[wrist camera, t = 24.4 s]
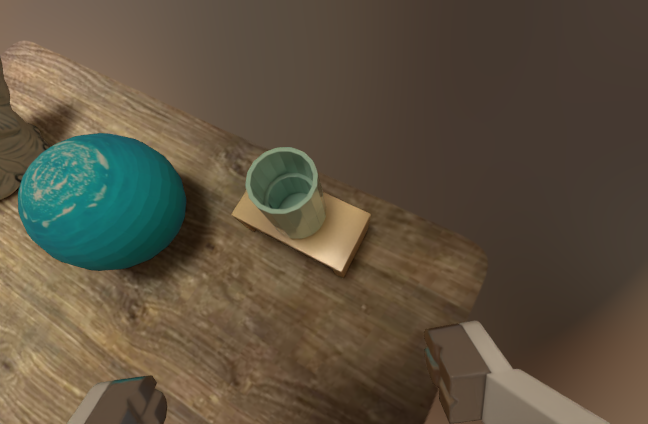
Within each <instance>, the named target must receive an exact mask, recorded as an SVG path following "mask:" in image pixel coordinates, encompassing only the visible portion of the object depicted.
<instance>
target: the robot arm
mask: <svg viewBox="0 0 648 424" xmlns="http://www.w3.org/2000/svg"><path fill="white" fill-rule="evenodd" d="M424 340H425V342H426V344H427V347H426V348H425V349H424V352H425V361H426V366H427V369H428V372H429V375H430V378H431V380H432V383H433V384H434V385H435V386H436V387H438V388H439V399H440V402H441V405H442V407H443V409H444V412H445V414H446V416H447V418H448V421H449V423H450V424H452V423H461V422H467V421H476V420H482V422H483V423H484V424H610V423H609V422H607V421H605V420H604V419H602V418H600V417H599V416H597V415H595V414H594V413H592V412H590V411H589V410H587V409H585V408H584V407H582V406H580V405H578V404H577V403H575V402H574V401H572V400H570V399H569V398H567V397H565V396H563V395H562V394H560V393H559V392H557V391H555V390H554V389H552V388H550V387H548V386H547V385H545V384H544V383H542V382H540V381H539V380H537V379H535V378H534V377H532V376H530V375H529V374H527V373H525V372H524V371H522V370H520V369H514V370H513V369H512V367H511V366H510V364H509V363H508V361H507V360H506V359H505V357H504V356H503V354H502V353H501V352H500V350H499V349H498V347H497V346H496V345H495V343H494V342H493V340H492V339H491V338H490V336H489V335H488V333H487V332H486V331H485V329H484V328H483V326H482V325H481V324H480V323H479V322H478V321H471V322H464V323H459V324H458V323H457V324H451V325H446V326H440V327H434V328H429V329H425V331H424ZM156 384H157V382H156V381H155V379H154V378H153V376H142V377H135V378H128V379H121V380H114V381H108V382H101V383H97V384H96V385H94V386H93V387H92V388H91V389H90V390H89V392H88V393H87V395H86V396H85V398H84V399H83V401H82V402H81V404H80V405H79V407H78V408H77V410H76V411H75V412H74V414H73V415H72V417H71V418H70V420H69V421H68V423H67V424H164V421H165V418H166V413H167V402H166V398H165V396H164V394H163V393H162V392H160V391H159V390H157V389H155V386H156Z"/></svg>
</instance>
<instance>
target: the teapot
mask: <svg viewBox="0 0 648 424" xmlns="http://www.w3.org/2000/svg"><path fill="white" fill-rule="evenodd" d="M48 148H49V145H48V143H47V142H46V141H45V140H44V139H43V138H42V136H41V133H40V131H39V130H38V128H37V127H36V126H34V125H32V124H29V123H27V122H25V121H24V120H23V119H22V118H21V117H20V116H19V115H18V114H17V113H16V112H14V111H13V110H12V108H11V106H10V93H9V89H8V86H7V84H6V82H5V80H4V75H3V67H2V62H1V58H0V199H3V198H5V197H7V196H9V195H11V194H12V193H13V192H14V191H16V190H17V188H18V187H19V186H20V184H21V181H22V177H23V176H24V174H25V172H26V171H27V169H28V167H29V166H30V164H31V163H32V162H33V161H34V160H35V159H36V158H37V157H38V156H39V155H40V154H41V153H42V152H44V151H45V150H47V149H48Z"/></svg>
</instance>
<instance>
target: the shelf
mask: <svg viewBox="0 0 648 424" xmlns="http://www.w3.org/2000/svg"><path fill="white" fill-rule="evenodd" d="M323 196H324V200H325V204H326V218H325V220H324V222H323V224H322V226H321V228H320V229H319V230H317V231H316V232H315V233H314V234H313V235H311V236H308V237H306V238H303V239H292V238H289V237H287V236H284V235H282V234H281V233H280V232H279V231H278V230H277V229H276V228H275V227H274V226H273V224H272V223H271V222H270V221H269V220H268V219H267V218H266V217H265V216H264V214H263V213H262V212H261V211H260V210H259V209H258V208H257V207H256V205H255V204H254V203H253V202H252V201H251V200H250V199H249V196H248V193H247V191H246V192H245V194H244V195H243V197H242V198H241V200H240V202H239V203H238V205H237V206H236V208H235V209H234V211H233V213H232V214H231V215H232V216H233V217H235V218H236V219H237V220H238V221H239V222H241V223H242V224H243V225H244V226H246V227H247V228H248V229H250V230H252V231H254V232H255V230H256V229H257V230H259V231H261V232H263V233H265V234H267V235H269V236H271V237H273V238H275V239H276V240H278V241H280V242H282V243H284V244H286V245H288V246H290V247H292V248H294V249H296V250H298V251H299V252H301V253H303V254H305V255H307V256H309V257H311V258H313V259H315V260H317V261H319V262H321V263H322V264H324V265H326V266H328V267H330V268H332V269H333V271H334V273H335V274H336V275H338V276H340V277H342V278H344V276H345V274H346V272H347V270H348V268H349V266H350V264H351V262H352V260H353V258H354V256H355V254H356V252H357V250H358V248H359V246H360V244H361V242H362V240H363V238H364V236H365V234H366V232H367V230H368V227H369V221H370V216H371V214H370V213H367V212H365V211H363V210H361V209H359V208H356V207H354V206H352V205H350V204H348V203H346V202H343V201H341V200H339V199H337V198H335V197H333V196H330V195H328V194H326V193H324V192H323Z"/></svg>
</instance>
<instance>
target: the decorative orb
mask: <svg viewBox="0 0 648 424" xmlns="http://www.w3.org/2000/svg"><path fill="white" fill-rule="evenodd" d="M185 210H186V196H185V192H184V188H183V184H182V180H181V178H180V176H179V175H178V173H177V172H176V170H175V169H174V168H173V166H172V165H171V163H170V162H169V161H168V160H167V159H166V158H165V157H164V156H163V155H162V154H160V153H159V152H157V151H156V150H154V149H152V148H151V147H149V146H148V145H146V144H144V143H143V142H140V141H138V140H136V139H132V138H128V137H123V136H118V135H113V134H105V133H98V134H89V135H81V136H75V137H72V138H69V139H67V140H64V141H61V142H59V143H57V144H55V145H53V146H51V147H50V148H48V149H47V150H45V151H44V152H42V153H41V154H40V155H39V156H38V157H37V158H36V159H35V160H34V161H33V162H32V163H31V164H30V166H29V167H28V169H27V171H26V172H25V174H24V176H23V177H22V181H21V184H20V187H19V191H18V211H19V215H20V218H21V220H22V222H23V225H24V227H25V229H26V231H27V233H28V235H29V236H30V237H31V239H32V240H33V241H34V242H35V243H37V244H38V245H39V246H40V247H41V248H42V249H44V250H45V251H46V252H47V253H48V254H50V255H51V256H52V257H53V258H55V259H57V260H59V261H61V262H64V263H67V264H71V265H74V266H78V267H81V268H85V269H88V270H97V271H102V270H115V269H125V268H129V267H132V266H135V265H137V264H140V263H142V262H145V261H147V260H150V259H152V258H153V257H154V256H156V255H157V254H158V253H160V252H161V251H162V250H163V249H165V248H166V247H167V246H168V245H169V244H170V243H171V242H172V240H173V239H174V238H175V236H176V235H177V234H178V233H179V230H180V228H181V225H182V223H183V220H184V218H185Z"/></svg>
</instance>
